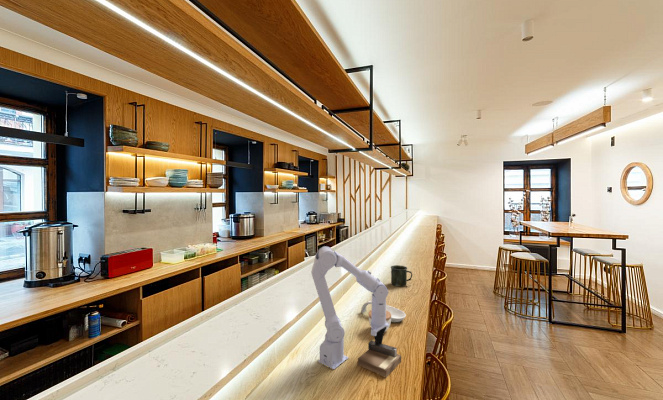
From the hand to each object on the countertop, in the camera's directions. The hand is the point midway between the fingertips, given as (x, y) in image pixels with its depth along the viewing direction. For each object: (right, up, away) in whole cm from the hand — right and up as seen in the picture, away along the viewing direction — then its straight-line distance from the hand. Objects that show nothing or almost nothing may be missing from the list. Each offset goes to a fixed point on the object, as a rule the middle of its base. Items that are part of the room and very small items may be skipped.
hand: (378, 344), depth 116 cm
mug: (+29, -1, +84) cm, 89 cm away
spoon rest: (+8, -3, +34) cm, 35 cm away
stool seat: (-1, -4, -5) cm, 7 cm away
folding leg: (+1, -1, -3) cm, 3 cm away
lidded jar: (+4, -3, +21) cm, 21 cm away
